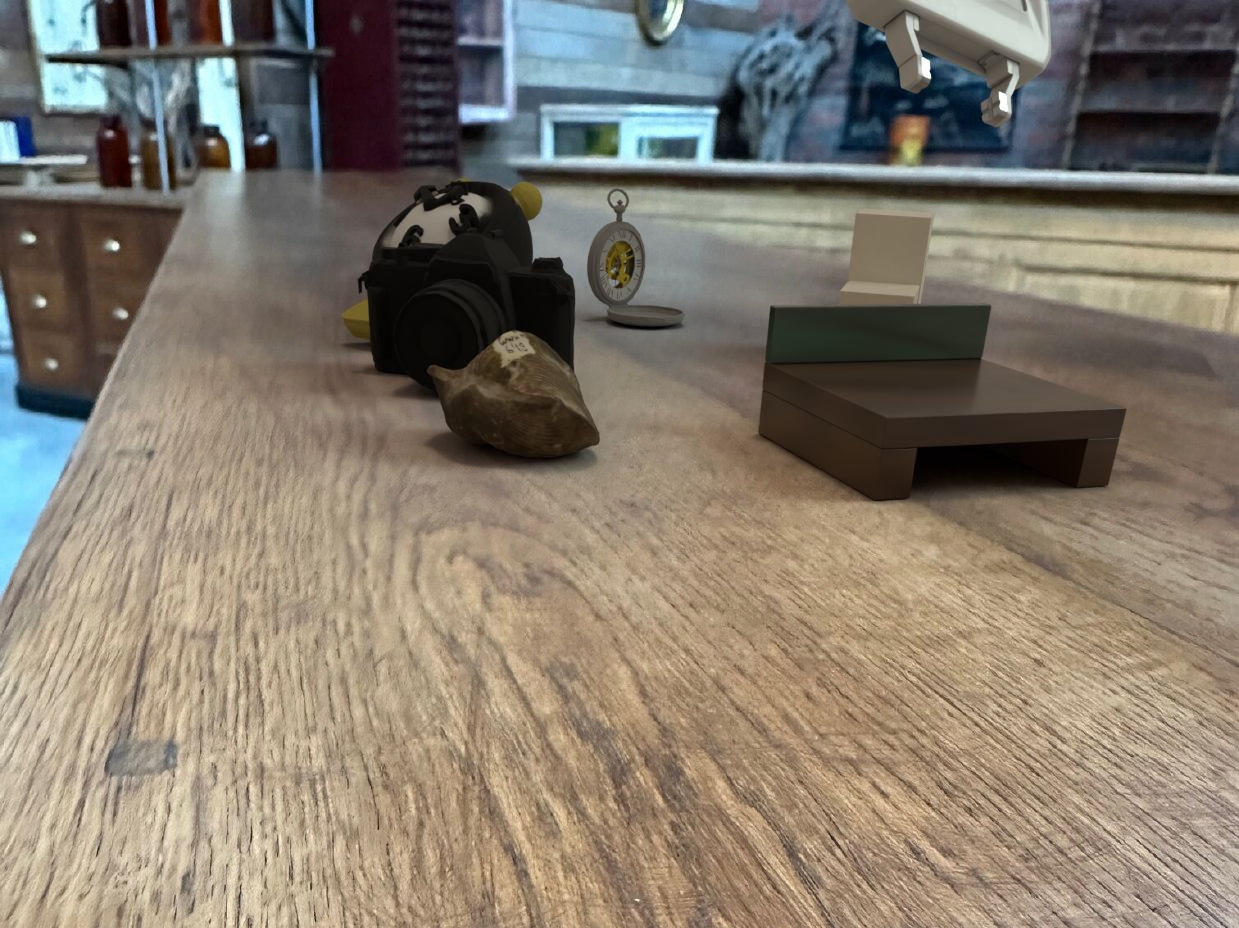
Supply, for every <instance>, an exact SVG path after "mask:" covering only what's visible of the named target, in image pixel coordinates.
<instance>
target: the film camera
mask: <svg viewBox="0 0 1239 928" xmlns="http://www.w3.org/2000/svg"><path fill="white" fill-rule="evenodd" d="M503 237H504V232H503V230H494V231H488V233H477V228H469V229H465V230H464V234H462V233H461V234H459V235H458V236H456V237H455V238H453V239H452V240H450V241H449V242H448V243H446V244H436V243H418V242H415V243H414V244H413V245H411V246H408V244H407V243H399V244H398V247H397V248H396V247H382V248H381V249H380V257H379V258H377V259H374V260H373V261H372V260H371V261H370V264H369V267H368V270H366V271H363V272H362V273H361V275H360V276H359V277H358V278H357V287H358V289H357V290H358V294H359V295H360V294H362V293H363V286H364V289H365V290H366V296H367V298H368V313H369V327H370V340H369V343H370V353H371V357H372V362H373V364H374V368H375V369H376V370H378V371H382V372H385V373H386V372H387V373H399V374H407V376H408V377H409V378H411V379H412V380H413V381H414V382H416V383H417V384H418V385H420V386H421V387H423V388H425V389H428V390H431V391H436V392H437V389H436V387H435V384H434V382H433V378H432V377H431V376H430V375H429V374H428V372H427V370H428V368H429V366H432V365H436V366H439V367H442V368H445V369H448V370H461V369H463V368H466V367H467V365H468V364H469V363H470V362H471V361H472V360H473V359H474V358H475V357H476V356H478V355H479V354H480V353H481V352H482V351H484V350H485V349H486V348H487V347H488V346H490V345H491V344H492V343H493V342H494V341H495V340H496V339H498V338H499V337H500V336H501V335H503V334H505V333H507V332H510V331H519V332H527V333H531V334H533V335H535V336H536V337H538V338H539V339H541V340H542V341H545V342H546V343H547V344H548V345H549V346H550V347H551V348H552V349H553V350H554V351H555V352H557V354H558V355H559V356H560V358H561V359H562V360H563V361H565V362H566V363H567V364H568V365H569V366H570V367H571V369H572V370H573V372H574V373H575V362H574V361H575V342H574V341H575V328H576V327H575V325H576V289H575V288H576V287H575V281H574V278H573V276H572V275H571V274H569V273H568V272H567V271H566V269H564V262H563V259H562V258H561V256H557V257H542V256H539V257H535V258H533V262H532V267H521V265H520V263H519V261H518V259H517V257H516V255H515V254H514V253H513V252H512V251H511V250H510V248H509V247H508V246H507V244H506V243H505V241H504V240H503ZM367 298H366V299H367Z"/></svg>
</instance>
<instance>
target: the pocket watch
mask: <svg viewBox="0 0 1239 928" xmlns="http://www.w3.org/2000/svg"><path fill="white" fill-rule="evenodd" d="M615 192H620V193H621V194H622V195H624V198H625V204H623V203H624V202H623V200H622V199H618V200H617V201H616V205H614V204H613V203H612V201H611V196H612V194H613V193H615ZM606 199H607V200H606V201H607V203H608V205H609V207H610V208H611V209H613V212H614V213H615V214H616V218H615V221H612V222H609V223H607V224H605V225H604V226H602V227H601V228H600V229H599V230H598V231H597V233H596V234H595V236H594V237H593V239H592V242H591V244H590V247H589V249H588V250H589V251H588V255H587V261H586V275H587V281H588V284H589V288H590V289H591V292H592V294H593V295H594V297H595V298H596V299H597V300H598V302H600V303H602V304H603V305H606V306H608V308H607V310H606V314H607V315H606V317H608V319H609V320H611V321H614V322H616V323H619V324H623V325H625V326H627V325H628V326H636V327H643V328H644V327H645V328H647V327H648V328H652V327H669V326H673V325H678V324H680V323H682V322H683V321H684V320H685V317H686V313H685V312H686V311H684V310H682V309H679V308H675V307H670V306H661V305H651V304H650V305H649V304H628V303H630V301H631V300H633V299H634V298H635V296H636V294H637V293H638V291H639V289H640V287H641V285H642V282H643V279H644V275H645V270H646V251H645V244H644V241H643V239H642V236H641V233H640V232H639V230H638V229H637V228H636V227H635V226H634V225H633V224H631V223H630V222H627V221H623V214H624V213H625V212H626V209H627V208H628V206H629V203H630V198H629V195H628V193H627V192H626V191H624V190H623V189H621V188H613V189H611V190H610V191H609V192H608V194H607V198H606ZM612 270H613V272H611V271H612ZM609 279H610V280H612V281H614V286H613V285H612V284H611V283H610V282H609V281H610V280H609ZM617 281H618V283H617Z"/></svg>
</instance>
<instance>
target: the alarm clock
mask: <svg viewBox="0 0 1239 928" xmlns="http://www.w3.org/2000/svg"><path fill="white" fill-rule="evenodd" d="M413 200H414V202H413V203H412V204H409V205H408V206H407V207H406V208H405V209H403V210H402V211H401V212H399V213H398V214H397V215H396V216H395V217H394V218H393V219H391V221H389V223H388V224H387V225H386V226H385V228H384V229H383V230H382V231H381V233H380V234H379V235H378V237H377V240H376V242H375V244H374V246H373V249H372V255H371V262H372V261H373V260H374V259H377V258H379V257H380V249H381V248H382V247H396V248H397V247H398V244H399V243H407V244H408V246H411V245H413V244H414V243H415V242H418V243H436V244H446V243H448V242H449V241H450V240H452V239H453V238H455V237H456V236H458V235H459V234H461V233H462V234H464V230H465V229H469V228H477V233H488V231H494V230H503V232H504V237H503V240H504V241H505V243H506V244H507V246H508V247H509V248H510V250H511V251H512V252H513V253H514V254H515V255H516V257H517V259H518V261H519V263H520V265H521V267H532V263H533V261H534V244H533V236H532V231H531V226H530V224H529V221H531V220H534V219H536V218H537V216H538V215H539V214H540V213H541V210H542V208H543V196H542V193H541V192H540V190H539V188H538V187H536V186H535V185H534V184H533V183H530V182H528V181H522V182H519V183H516V184H514V185H513V187H512V188H511V189H510V190H508V189H507V188H505V187H503V186H501V184H497V183H494V182H489V181H476V180H475V181H473V180H472V179H469V178H466V177H463V178H458V179H456V180H455V181H453V180H452V181H450V183H448V184H446V185H444V187H443V188H441V189H437V187H436V184H426V185H421V186H419V187H418V189H416V191H415V192H414V193H413ZM341 318H342V320H343V324H344V326H345V327H346V329H347V330H348V331H349V332H350V334H351V335H352V337H354V338H358V339H364V340H369V341H370V327H369V313H368V298H365V299H364V300H361V301H360V302H358V303H356V304H355V305H352V306H351V307H350V308H348V309H347V310H345V311H344V312H343V313H342V314H341Z"/></svg>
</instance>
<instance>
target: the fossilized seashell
mask: <svg viewBox="0 0 1239 928" xmlns="http://www.w3.org/2000/svg"><path fill="white" fill-rule="evenodd" d="M427 372H428V374H429V375H430V376H431V377H432V378H433V382H434V384H435V387H436V389H437V391H436V392H437V394H438V397H439V403H440V407H441V409H442V412H443V415H444V420H445V424H446V425H447V427H448V429H449V430H450V431H451V432H452V433H453V434H455V435H456V436H457V437H459V438H460V439H462V440H465V441H467V442H469V443H472V444H479V445H483V444H485V445H486V444H487V445H491V446H492V447H494V448H495V449H497V450H500V451H504V452H506V453H507V454H509V455H517V456H521V457H524V458H556V457H561V456H566V455H569V454H572V453H576V452H580V451H582V450H585V449H587V448H590V447H593V446H598V445H599V444H600V441H601V436H600V431H599V429H598V427H597V424H596V423H595V420H594V418H593V415H592V414H591V411H590V410H589V408H588V407H587V405H586V403H585V400H584V398H583V393H582V390H581V384H580V382H579V379H578V377H577V375H576V373H575V371H574V372H573V370H572V369H571V367H570V366H569V365H568V364H567V363H566V362H565V361H563V360H562V359H561V358H560V356H559V355H558V354H557V352H555V351H554V350H553V349H552V348H551V347H550V346H549V345H548V344H547V343H546V342H545V341H542V340H541V339H539V338H538V337H536V336H535V335H533V334H531V333H527V332H519V331H510V332H507V333H505V334H503V335H501V336H500V337H499V338H498V339H496V340H495V341H494V342H493V343H492V344H491V345H490V346H488V347H487V348H486V349H485V350H484V351H482V352H481V353H480V354H479V355H478V356H476V357H475V358H474V359H473V360H472V361H471V362H470V363H469V364H468V365H467V367H466V368H463V369H461V370H448V369H445V368H442V367H439V366H436V365H432V366H429V368H428V370H427Z"/></svg>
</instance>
